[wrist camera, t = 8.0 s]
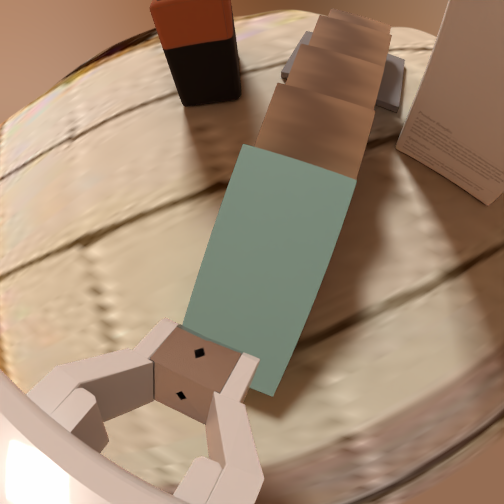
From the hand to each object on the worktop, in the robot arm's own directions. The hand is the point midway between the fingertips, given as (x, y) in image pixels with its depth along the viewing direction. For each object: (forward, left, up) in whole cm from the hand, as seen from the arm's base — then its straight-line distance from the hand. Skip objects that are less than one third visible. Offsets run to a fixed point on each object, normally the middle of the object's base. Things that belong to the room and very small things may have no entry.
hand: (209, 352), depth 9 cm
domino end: (0, +1, -6) cm, 6 cm away
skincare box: (-9, -17, -7) cm, 21 cm away
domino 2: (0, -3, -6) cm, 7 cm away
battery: (+10, -17, -7) cm, 21 cm away
